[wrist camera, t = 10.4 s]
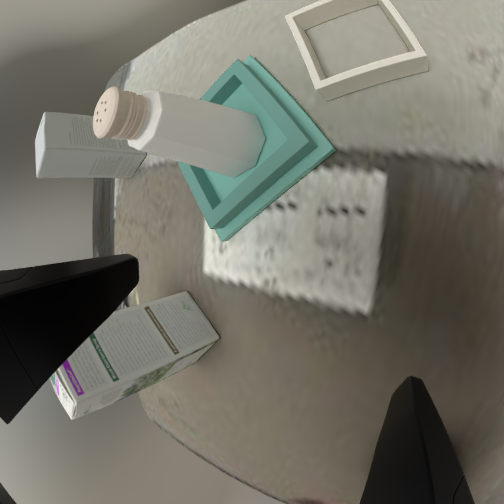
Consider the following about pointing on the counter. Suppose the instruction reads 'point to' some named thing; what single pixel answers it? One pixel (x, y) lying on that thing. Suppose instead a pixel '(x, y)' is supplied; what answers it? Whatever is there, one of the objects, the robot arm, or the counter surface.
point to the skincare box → (81, 150)
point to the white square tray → (340, 3)
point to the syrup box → (133, 353)
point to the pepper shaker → (181, 129)
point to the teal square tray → (271, 156)
